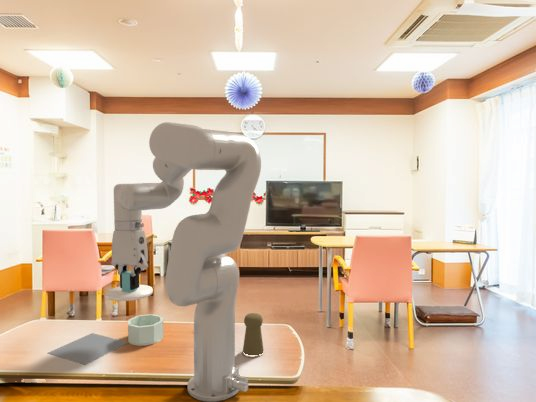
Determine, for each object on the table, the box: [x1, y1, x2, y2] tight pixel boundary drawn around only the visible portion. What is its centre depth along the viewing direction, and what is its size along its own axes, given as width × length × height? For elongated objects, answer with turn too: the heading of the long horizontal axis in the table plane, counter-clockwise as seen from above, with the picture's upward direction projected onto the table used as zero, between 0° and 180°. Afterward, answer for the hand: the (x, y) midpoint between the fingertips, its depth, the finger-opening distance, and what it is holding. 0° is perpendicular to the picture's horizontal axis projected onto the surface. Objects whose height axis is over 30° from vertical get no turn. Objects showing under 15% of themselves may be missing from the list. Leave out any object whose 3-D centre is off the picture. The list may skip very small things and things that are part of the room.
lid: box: [105, 270, 154, 302], centre depth 115 cm, size 13×13×6 cm
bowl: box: [127, 313, 165, 347], centre depth 118 cm, size 10×10×6 cm
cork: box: [242, 312, 265, 355], centre depth 110 cm, size 6×6×11 cm
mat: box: [47, 332, 130, 366], centre depth 112 cm, size 15×15×1 cm
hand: (129, 287), depth 115 cm, fingers closed on lid, 3 cm apart
